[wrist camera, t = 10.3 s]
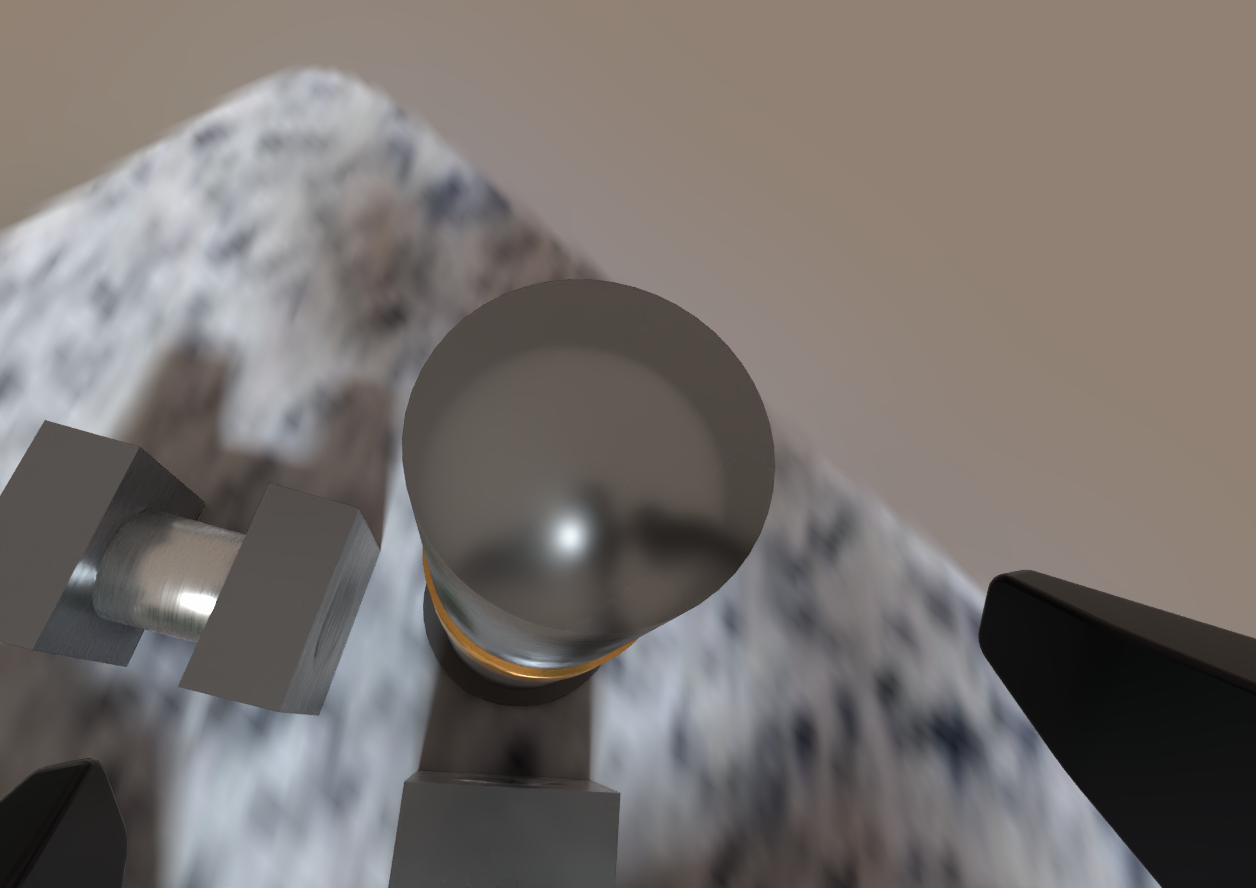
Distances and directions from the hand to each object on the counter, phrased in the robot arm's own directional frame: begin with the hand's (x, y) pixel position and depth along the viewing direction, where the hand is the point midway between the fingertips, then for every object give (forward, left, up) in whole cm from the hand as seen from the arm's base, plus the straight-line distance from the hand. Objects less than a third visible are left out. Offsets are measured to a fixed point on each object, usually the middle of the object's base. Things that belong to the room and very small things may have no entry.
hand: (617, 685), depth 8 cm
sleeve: (+3, 0, -13) cm, 14 cm away
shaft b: (+2, +8, -14) cm, 16 cm away
